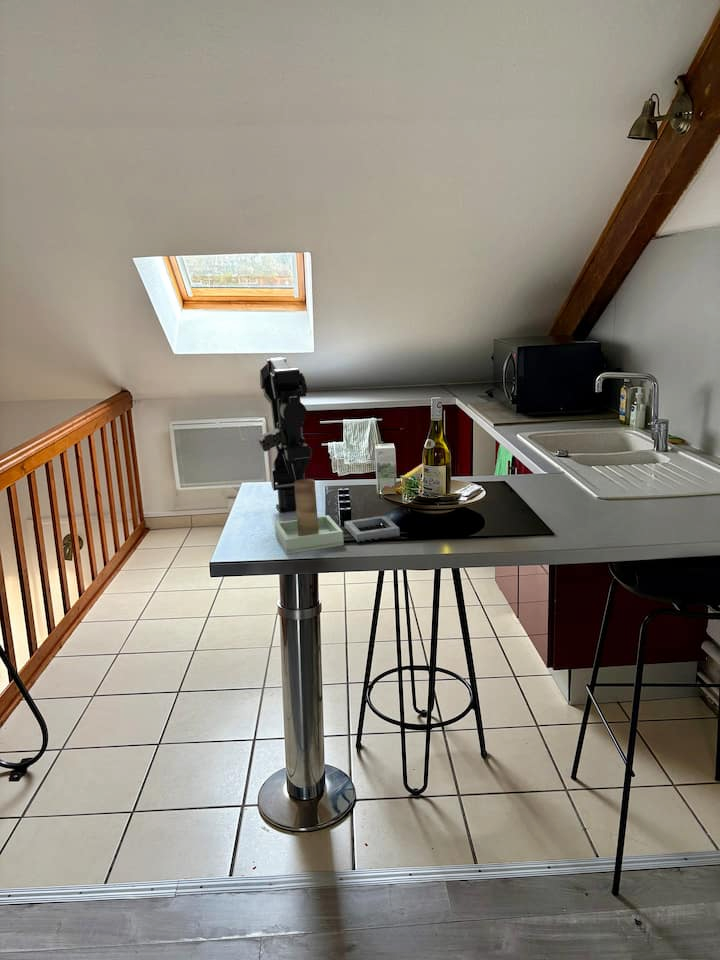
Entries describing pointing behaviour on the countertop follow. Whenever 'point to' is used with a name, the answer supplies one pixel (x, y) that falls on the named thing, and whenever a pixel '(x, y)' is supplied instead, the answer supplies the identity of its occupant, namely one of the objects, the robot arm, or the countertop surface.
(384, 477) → the syrup box
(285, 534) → the tray
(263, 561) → the countertop surface
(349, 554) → the countertop surface
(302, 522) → the lock pin
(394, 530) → the steel collar
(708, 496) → the countertop surface
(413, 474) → the candy box
